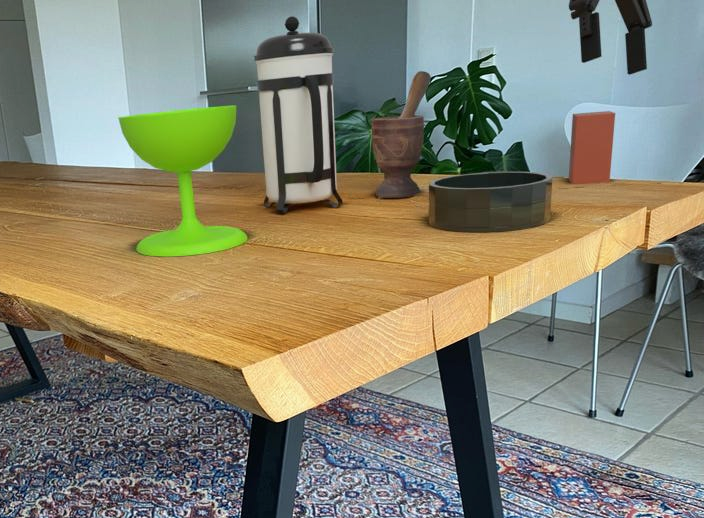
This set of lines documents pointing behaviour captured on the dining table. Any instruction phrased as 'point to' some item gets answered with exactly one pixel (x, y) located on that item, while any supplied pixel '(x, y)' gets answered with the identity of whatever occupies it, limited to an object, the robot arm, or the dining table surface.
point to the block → (591, 147)
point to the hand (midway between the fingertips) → (615, 66)
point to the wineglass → (183, 171)
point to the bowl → (490, 201)
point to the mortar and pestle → (400, 143)
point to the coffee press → (297, 118)
